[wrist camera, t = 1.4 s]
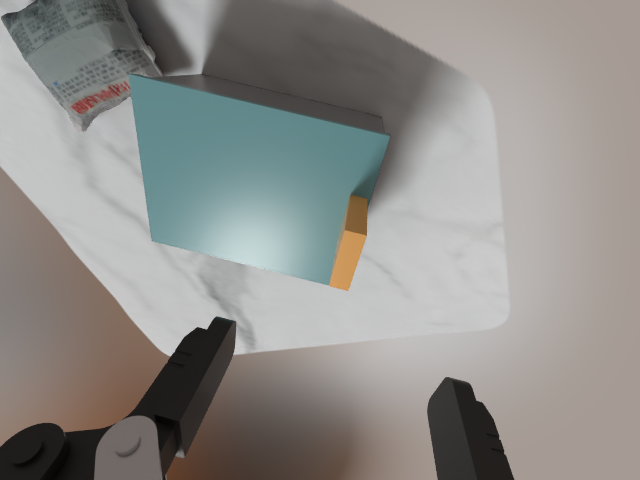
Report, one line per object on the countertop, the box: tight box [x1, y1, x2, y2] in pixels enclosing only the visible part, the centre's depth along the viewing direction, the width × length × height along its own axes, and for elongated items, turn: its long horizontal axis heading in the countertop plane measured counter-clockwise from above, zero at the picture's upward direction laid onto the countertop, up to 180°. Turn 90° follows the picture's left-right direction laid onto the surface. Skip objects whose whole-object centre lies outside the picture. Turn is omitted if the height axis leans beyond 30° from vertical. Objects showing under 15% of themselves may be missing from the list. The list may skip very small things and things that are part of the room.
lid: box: [129, 74, 390, 291], centre depth 19 cm, size 16×12×6 cm
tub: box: [151, 74, 385, 133], centre depth 25 cm, size 16×12×8 cm
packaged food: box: [1, 0, 164, 132], centre depth 24 cm, size 9×12×5 cm
